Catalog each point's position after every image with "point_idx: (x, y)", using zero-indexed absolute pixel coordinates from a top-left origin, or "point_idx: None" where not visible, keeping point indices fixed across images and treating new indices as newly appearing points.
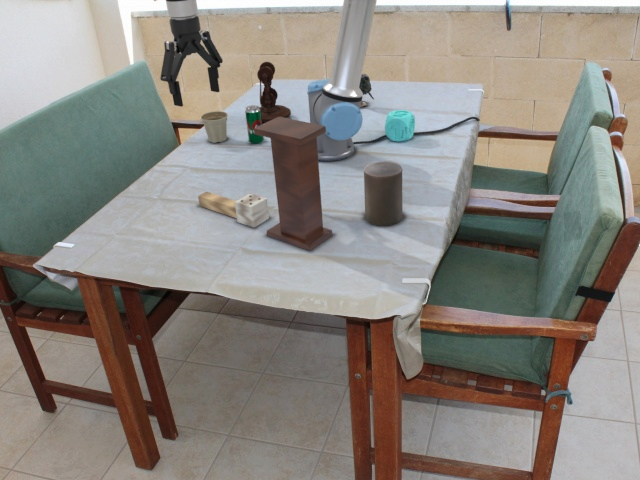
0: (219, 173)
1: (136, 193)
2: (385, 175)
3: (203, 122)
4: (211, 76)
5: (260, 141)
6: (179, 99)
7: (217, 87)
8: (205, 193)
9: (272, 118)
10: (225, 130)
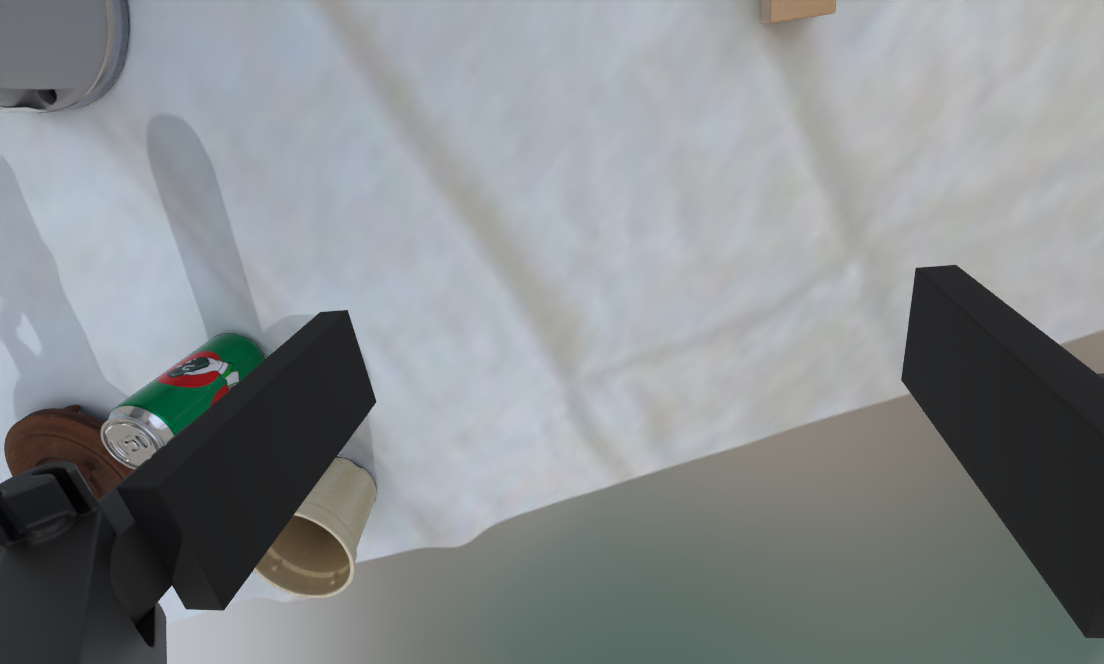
0: (522, 240)
1: (863, 368)
2: None
3: (354, 555)
4: (274, 471)
5: (230, 334)
6: (1002, 309)
7: (314, 335)
8: (792, 2)
9: (97, 434)
10: None
